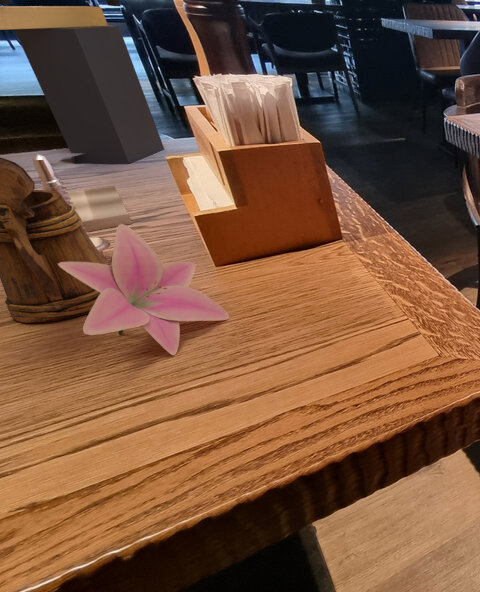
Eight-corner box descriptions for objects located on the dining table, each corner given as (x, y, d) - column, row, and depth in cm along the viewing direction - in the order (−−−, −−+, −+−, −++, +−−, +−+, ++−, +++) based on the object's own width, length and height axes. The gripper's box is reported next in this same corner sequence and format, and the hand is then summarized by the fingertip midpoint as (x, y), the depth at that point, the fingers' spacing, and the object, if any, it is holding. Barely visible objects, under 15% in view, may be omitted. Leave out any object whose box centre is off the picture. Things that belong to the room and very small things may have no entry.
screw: (100, 251, 65) (126, 258, 64) (53, 266, 61) (79, 275, 60) (50, 146, 59) (77, 152, 57) (-6, 156, 55) (22, 162, 53)
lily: (84, 401, 43) (106, 313, 40) (14, 313, 46) (30, 224, 43) (233, 364, 54) (260, 292, 51) (169, 295, 57) (191, 223, 54)
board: (48, 204, 78) (44, 195, 77) (117, 194, 83) (113, 185, 82) (54, 237, 68) (49, 227, 67) (132, 223, 73) (128, 213, 72)
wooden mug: (-12, 358, 46) (-147, 155, 37) (21, 293, 56) (-80, 120, 47) (118, 329, 51) (25, 142, 42) (128, 274, 60) (54, 113, 51)
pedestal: (129, 164, 97) (74, 28, 86) (75, 163, 96) (12, 26, 85) (164, 149, 106) (118, 25, 95) (115, 149, 105) (63, 23, 94)
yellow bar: (-11, 30, 78) (-21, 7, 76) (-29, 29, 78) (-40, 6, 76) (108, 25, 94) (100, 7, 93) (93, 25, 94) (85, 6, 93)
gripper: (-141, -200, 62) (-42, 4, 73) (114, -148, 81) (163, 7, 92) (-156, -193, 65) (-59, 1, 76) (92, -144, 84) (142, 5, 95)
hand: (63, 5), depth 84 cm, fingers open, 13 cm apart
